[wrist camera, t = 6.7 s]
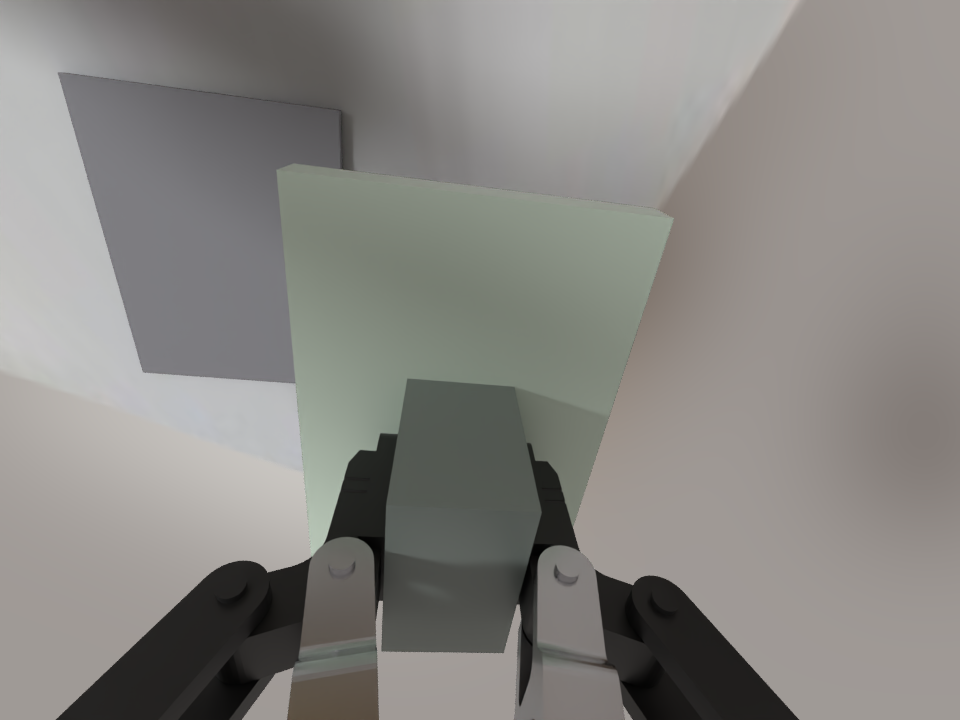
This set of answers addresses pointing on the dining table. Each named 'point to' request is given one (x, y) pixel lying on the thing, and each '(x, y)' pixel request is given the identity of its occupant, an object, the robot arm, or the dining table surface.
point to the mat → (198, 217)
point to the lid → (457, 371)
